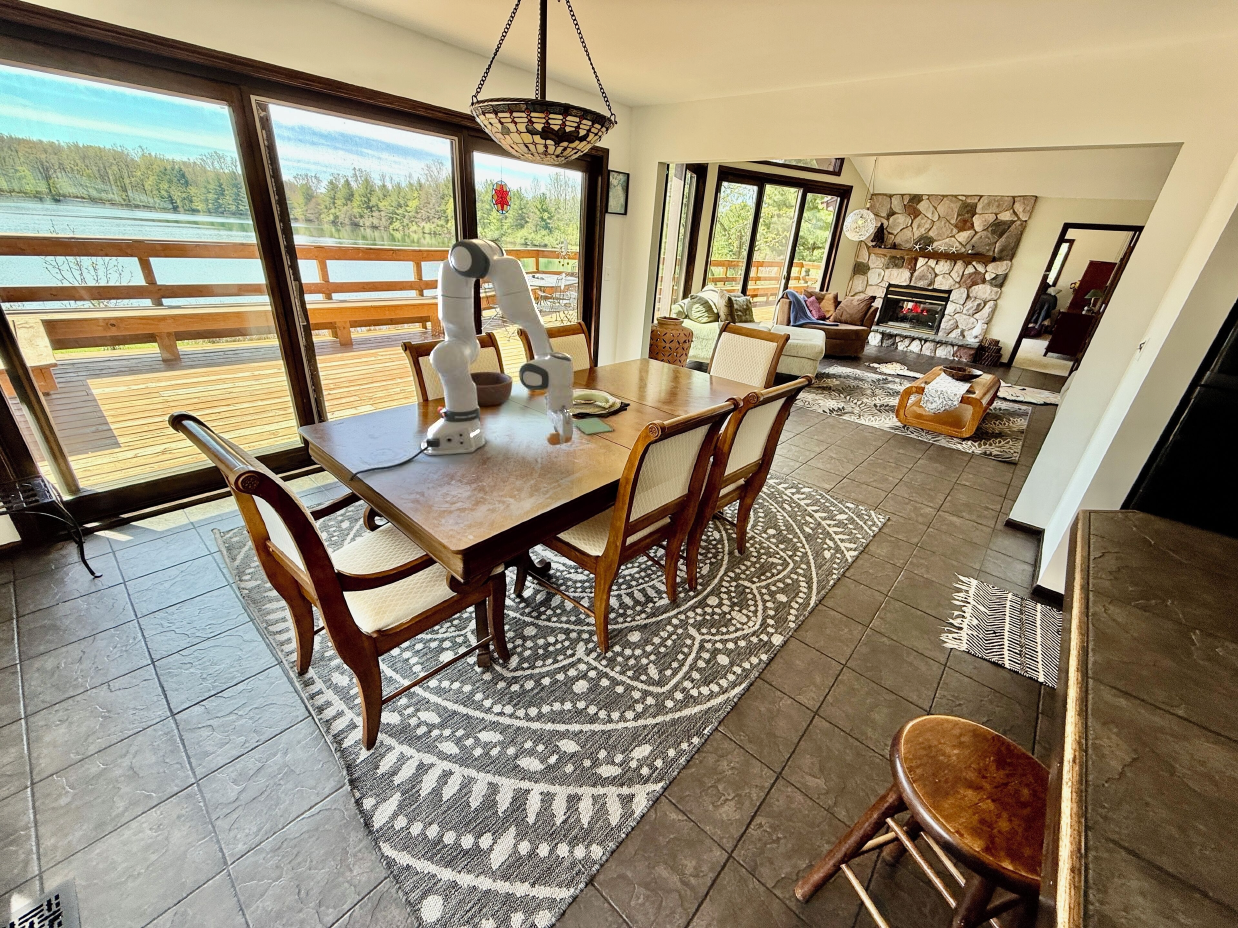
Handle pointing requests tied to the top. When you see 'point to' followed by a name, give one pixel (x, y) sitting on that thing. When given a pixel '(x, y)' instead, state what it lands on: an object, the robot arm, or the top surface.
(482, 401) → the wooden bowl
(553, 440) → the roll
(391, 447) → the top surface
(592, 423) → the cloth
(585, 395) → the banana
